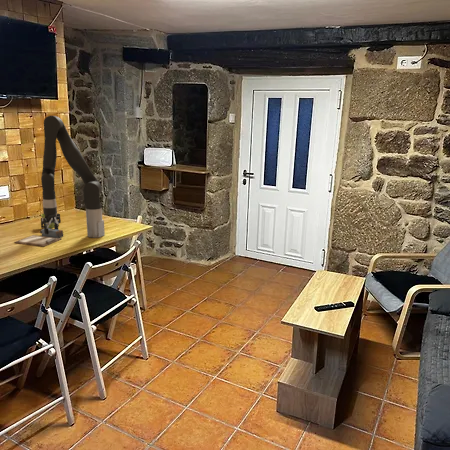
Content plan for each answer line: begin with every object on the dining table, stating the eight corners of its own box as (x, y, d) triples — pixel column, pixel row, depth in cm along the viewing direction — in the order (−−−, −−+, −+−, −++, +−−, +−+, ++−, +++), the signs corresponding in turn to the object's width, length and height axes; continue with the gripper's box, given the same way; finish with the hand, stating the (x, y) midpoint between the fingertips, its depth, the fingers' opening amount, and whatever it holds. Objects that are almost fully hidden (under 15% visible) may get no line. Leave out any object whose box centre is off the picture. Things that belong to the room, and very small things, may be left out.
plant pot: (38, 228, 270) (37, 214, 268) (50, 224, 279) (49, 212, 276) (48, 230, 266) (47, 216, 264) (60, 226, 274) (59, 213, 272)
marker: (63, 236, 254) (62, 230, 253) (58, 238, 250) (58, 231, 249) (43, 234, 258) (42, 227, 257) (38, 235, 254) (38, 229, 253)
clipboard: (61, 239, 248) (61, 236, 247) (44, 246, 234) (43, 243, 233) (33, 235, 253) (33, 233, 253) (14, 243, 239) (14, 239, 239)
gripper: (46, 209, 241) (48, 236, 246) (63, 204, 254) (64, 230, 259) (35, 207, 243) (38, 234, 248) (52, 203, 257) (54, 228, 261)
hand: (51, 232), depth 253 cm, fingers open, 8 cm apart
